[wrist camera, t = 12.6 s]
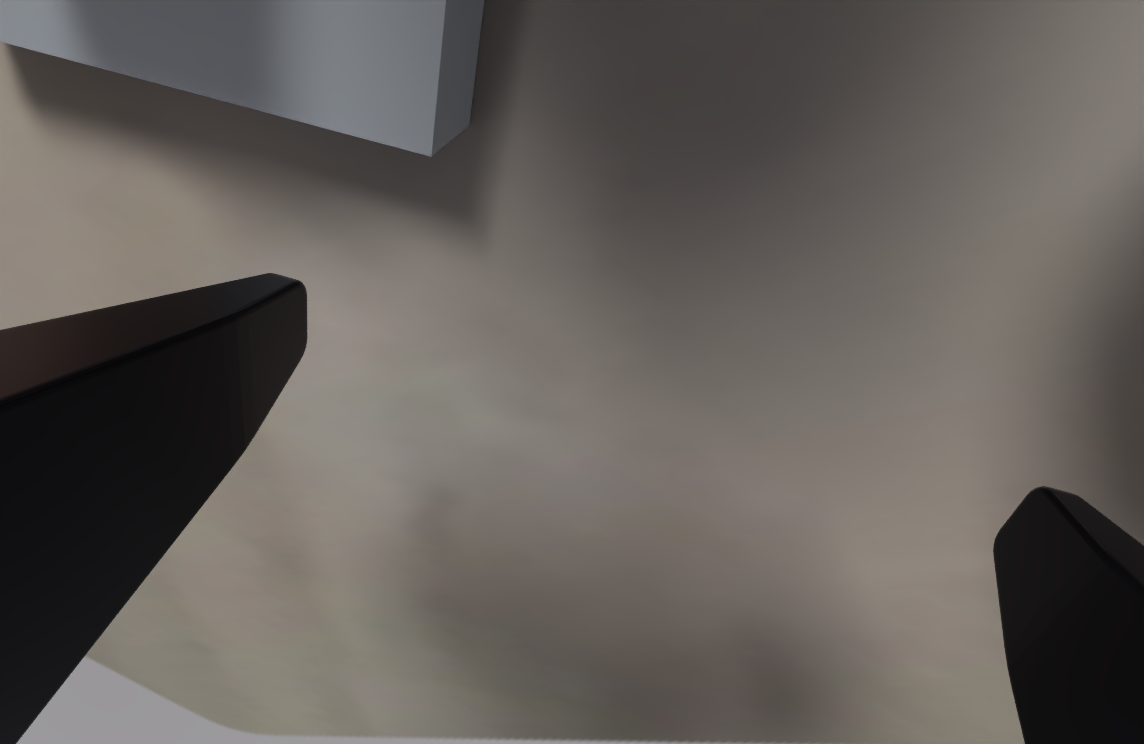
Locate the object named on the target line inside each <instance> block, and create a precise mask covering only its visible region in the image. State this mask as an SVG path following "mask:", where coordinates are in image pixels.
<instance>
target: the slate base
mask: <svg viewBox="0 0 1144 744" xmlns="http://www.w3.org/2000/svg"><path fill="white" fill-rule="evenodd" d="M484 1H485V0H0V42H4V43H8V44H11V45H15V46H19V47H23V48H26V49H30V50H34V51H38V52H41V53H45V54H49V55H52V56H56V57H60V58H64V59H67V60H71V61H75V62H79V63H82V64H86V65H90V66H94V67H97V68H101V69H105V70H109V71H112V72H116V73H120V74H124V75H127V76H131V77H135V78H138V79H142V80H146V81H150V82H153V83H157V84H161V85H165V86H168V87H172V88H176V89H180V90H183V91H187V92H191V93H195V94H198V95H202V96H206V97H210V98H213V99H217V100H221V101H224V102H228V103H232V104H236V105H239V106H243V107H247V108H251V109H254V110H258V111H262V112H266V113H269V114H273V115H277V116H281V117H284V118H288V119H292V120H296V121H299V122H303V123H307V124H310V125H314V126H318V127H322V128H325V129H329V130H333V131H337V132H340V133H344V134H348V135H352V136H355V137H359V138H363V139H367V140H370V141H374V142H378V143H382V144H385V145H389V146H393V147H396V148H400V149H404V150H408V151H411V152H415V153H419V154H423V155H426V156H430V157H432V156H433V155H434V154H435V153H437V152H438V151H439V150H440V149H442V148H443V147H444V146H445V145H446V144H448V143H449V142H450V141H451V140H453V139H454V138H455V137H456V136H458V135H459V134H460V133H461V132H462V131H464V130H465V129H466V128H467V127H469V125H470V116H471V108H472V100H473V92H474V83H475V75H476V67H477V59H478V50H479V42H480V34H481V25H482V17H483V9H484Z"/></svg>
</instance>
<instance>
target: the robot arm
mask: <svg viewBox="0 0 1144 744" xmlns="http://www.w3.org/2000/svg"><path fill="white" fill-rule="evenodd" d="M306 344H307V292H306V288H305V286H304V285H303V283H302V282H301V281H299V280H296V279H292V278H289V277H285V276H281V275H278V274H273V273H267V274H262V275H258V276H253V277H248V278H244V279H239V280H234V281H229V282H225V283H220V284H215V285H211V286H206V287H201V288H196V289H192V290H187V291H182V292H178V293H173V294H168V295H163V296H159V297H154V298H149V299H145V300H140V301H135V302H130V303H126V304H121V305H116V306H112V307H107V308H102V309H97V310H93V311H88V312H83V313H78V314H74V315H69V316H64V317H60V318H55V319H50V320H45V321H41V322H36V323H31V324H27V325H22V326H17V327H12V328H8V329H3V330H0V744H16V743H17V742H18V740H19V739H20V738H21V737H22V735H23V734H24V733H25V732H26V730H27V729H28V728H29V726H30V725H31V724H32V723H33V721H34V720H35V719H36V718H37V716H38V715H39V714H40V712H41V711H42V710H43V709H44V707H45V706H46V705H47V703H48V702H49V701H50V700H51V698H52V697H53V696H54V695H55V693H56V692H57V691H58V689H59V688H60V687H61V685H62V684H63V683H64V682H65V680H66V679H67V678H68V677H69V675H70V674H71V673H72V672H73V670H74V669H75V668H76V666H77V665H78V664H79V662H80V661H81V660H82V659H83V657H84V656H85V655H86V654H87V652H88V651H89V650H90V649H91V647H92V646H93V645H94V643H95V642H96V641H97V640H98V638H99V637H100V636H101V635H102V633H103V632H104V631H105V629H106V628H107V627H108V626H109V624H110V623H111V622H112V620H113V619H114V618H115V617H116V615H117V614H118V613H119V612H120V610H121V609H122V608H123V606H124V605H125V604H126V603H127V601H128V600H129V599H130V597H131V596H132V595H133V594H134V592H135V591H136V590H137V589H138V587H139V586H140V585H141V583H142V582H143V581H144V580H145V578H146V577H147V576H148V574H149V573H150V572H151V571H152V569H153V568H154V567H155V566H156V564H157V563H158V562H159V560H160V559H161V558H162V557H163V555H164V554H165V553H166V552H167V550H168V549H169V548H170V546H171V545H172V544H173V543H174V541H175V540H176V539H177V537H178V536H179V535H180V534H181V532H182V531H183V530H184V529H185V527H186V526H187V525H188V523H189V522H190V521H191V520H192V518H193V517H194V516H195V514H196V513H197V512H198V511H199V509H200V508H201V507H202V506H203V504H204V503H205V502H206V500H207V499H208V498H209V497H210V495H211V494H212V493H213V491H214V490H215V489H216V488H217V486H218V485H219V484H220V483H221V481H222V480H223V479H224V477H225V476H226V475H227V474H228V472H229V471H230V470H231V469H232V467H233V466H234V465H235V463H236V462H237V461H238V459H239V458H240V457H241V455H242V454H243V453H244V451H245V450H246V448H247V447H248V445H249V444H250V442H251V441H252V439H253V438H254V436H255V434H256V433H257V431H258V430H259V428H260V426H261V425H262V423H263V421H264V420H265V418H266V416H267V415H268V413H269V411H270V410H271V408H272V406H273V405H274V403H275V401H276V400H277V398H278V396H279V395H280V393H281V391H282V390H283V388H284V387H285V385H286V383H287V382H288V380H289V378H290V377H291V375H292V373H293V372H294V370H295V368H296V367H297V365H298V363H299V362H300V360H301V358H302V356H303V354H304V352H305V348H306ZM993 554H994V563H995V571H996V579H997V588H998V596H999V605H1000V613H1001V621H1002V630H1003V638H1004V647H1005V654H1006V660H1007V667H1008V672H1009V677H1010V682H1011V687H1012V691H1013V695H1014V700H1015V704H1016V708H1017V712H1018V717H1019V721H1020V725H1021V729H1022V734H1023V738H1024V742H1025V744H1144V546H1143V545H1142V544H1141V543H1139V542H1138V541H1137V540H1135V539H1134V538H1133V537H1132V536H1130V535H1129V534H1128V533H1126V532H1125V531H1124V530H1122V529H1121V528H1120V527H1119V526H1117V525H1116V524H1115V523H1113V522H1112V521H1111V520H1109V519H1108V518H1107V517H1105V516H1104V515H1103V514H1102V513H1100V512H1099V511H1098V510H1096V509H1095V508H1094V507H1092V506H1091V505H1090V504H1089V503H1087V502H1086V501H1085V500H1083V499H1082V498H1080V497H1079V496H1077V495H1074V494H1072V493H1068V492H1064V491H1061V490H1057V489H1053V488H1050V487H1045V486H1042V487H1037V488H1035V489H1033V490H1032V491H1030V493H1029V494H1028V495H1027V496H1026V497H1025V498H1024V500H1023V501H1022V502H1021V504H1020V505H1019V506H1018V507H1017V509H1016V510H1015V511H1014V512H1013V514H1012V515H1011V516H1010V518H1009V519H1008V520H1007V521H1006V523H1005V524H1004V525H1003V527H1002V528H1001V529H1000V530H999V532H998V534H997V536H996V538H995V542H994V548H993Z"/></svg>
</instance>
